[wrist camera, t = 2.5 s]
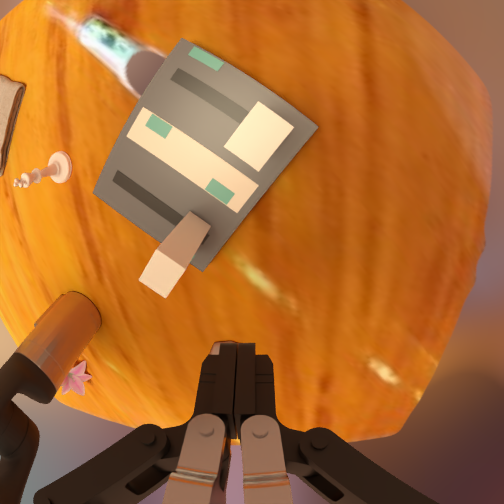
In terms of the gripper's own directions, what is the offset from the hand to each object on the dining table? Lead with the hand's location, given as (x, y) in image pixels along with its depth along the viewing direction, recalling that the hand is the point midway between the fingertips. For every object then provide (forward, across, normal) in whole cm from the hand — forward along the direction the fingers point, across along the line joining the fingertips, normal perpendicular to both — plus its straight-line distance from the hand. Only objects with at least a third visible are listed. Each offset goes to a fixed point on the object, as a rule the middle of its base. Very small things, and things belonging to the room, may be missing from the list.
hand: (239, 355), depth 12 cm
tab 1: (+21, -7, -3) cm, 23 cm away
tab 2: (+21, +2, +8) cm, 23 cm away
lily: (+27, -43, -39) cm, 64 cm away
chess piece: (+27, -28, +6) cm, 39 cm away
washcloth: (+29, -45, +18) cm, 56 cm away
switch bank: (+25, -6, +6) cm, 26 cm away
